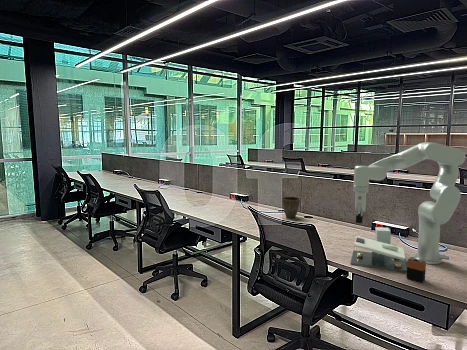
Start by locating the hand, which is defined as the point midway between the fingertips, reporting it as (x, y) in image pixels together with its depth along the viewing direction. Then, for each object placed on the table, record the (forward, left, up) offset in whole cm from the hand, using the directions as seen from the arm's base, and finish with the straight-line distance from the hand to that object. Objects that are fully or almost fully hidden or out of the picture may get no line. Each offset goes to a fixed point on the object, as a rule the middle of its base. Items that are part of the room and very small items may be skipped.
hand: (358, 222), depth 172 cm
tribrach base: (-10, 0, -20) cm, 22 cm away
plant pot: (+57, -76, -20) cm, 97 cm away
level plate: (-10, 0, -14) cm, 17 cm away
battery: (-26, +17, -20) cm, 37 cm away
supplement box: (-12, -20, -20) cm, 31 cm away
